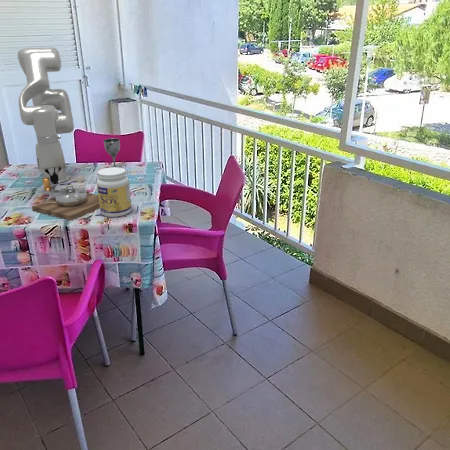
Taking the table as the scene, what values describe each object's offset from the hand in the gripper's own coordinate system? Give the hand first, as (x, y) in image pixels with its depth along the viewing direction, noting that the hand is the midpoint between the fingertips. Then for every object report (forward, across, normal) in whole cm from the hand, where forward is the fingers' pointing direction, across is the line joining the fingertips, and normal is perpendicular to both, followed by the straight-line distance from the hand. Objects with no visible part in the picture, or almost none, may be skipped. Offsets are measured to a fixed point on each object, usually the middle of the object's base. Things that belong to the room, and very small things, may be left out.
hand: (55, 183), depth 182 cm
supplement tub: (+8, -14, +27) cm, 32 cm away
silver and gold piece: (+5, -1, +8) cm, 9 cm away
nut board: (+8, -3, +11) cm, 14 cm away
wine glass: (+7, -38, -29) cm, 49 cm away
